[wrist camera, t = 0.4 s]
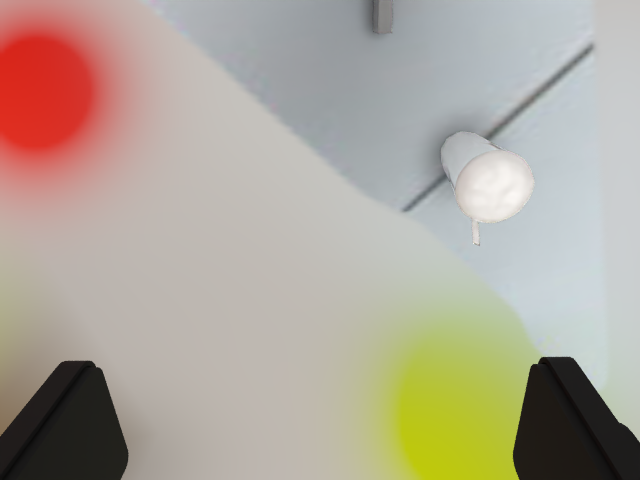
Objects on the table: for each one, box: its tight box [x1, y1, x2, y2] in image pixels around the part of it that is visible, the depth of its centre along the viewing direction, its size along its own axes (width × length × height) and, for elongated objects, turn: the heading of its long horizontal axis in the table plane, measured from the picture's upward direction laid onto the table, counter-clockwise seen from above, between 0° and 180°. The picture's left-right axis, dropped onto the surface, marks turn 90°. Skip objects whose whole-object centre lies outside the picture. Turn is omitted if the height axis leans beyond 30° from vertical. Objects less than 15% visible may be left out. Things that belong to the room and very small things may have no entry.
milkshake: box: [440, 131, 534, 246], centre depth 30 cm, size 5×5×10 cm
